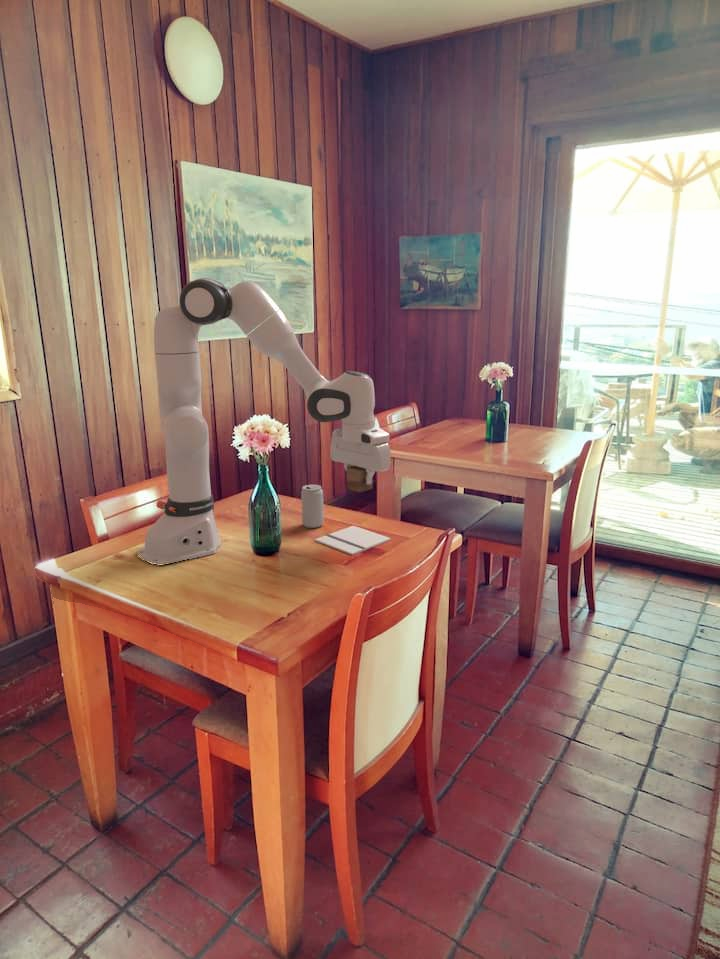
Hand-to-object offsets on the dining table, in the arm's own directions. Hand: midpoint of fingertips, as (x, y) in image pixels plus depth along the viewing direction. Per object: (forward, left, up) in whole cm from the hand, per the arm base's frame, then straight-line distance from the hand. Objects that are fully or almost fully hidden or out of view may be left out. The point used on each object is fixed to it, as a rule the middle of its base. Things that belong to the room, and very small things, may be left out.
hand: (359, 481), depth 181 cm
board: (-3, +1, -17) cm, 17 cm away
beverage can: (-2, +18, -17) cm, 25 cm away
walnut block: (0, 0, -2) cm, 2 cm away
